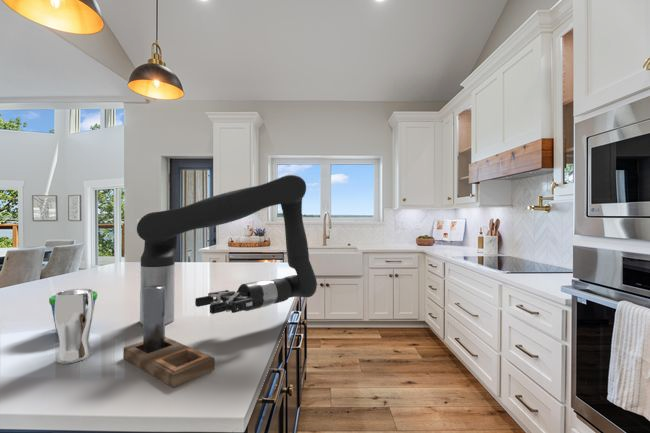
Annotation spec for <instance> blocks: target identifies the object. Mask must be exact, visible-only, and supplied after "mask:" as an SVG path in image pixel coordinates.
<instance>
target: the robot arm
mask: <svg viewBox="0 0 650 433" xmlns="http://www.w3.org/2000/svg"><path fill="white" fill-rule="evenodd" d="M306 192H307V184H306V182H305V180H304V179H303V178H302V177H301V176H299V175H297V174H292V173H291V174H287V175H286V174H285V175H284V176H281V177H279V178H275V179H273V180H271V181H269V182H266V183H263V184H259V185H255V186H251V187H250V186H249V187H245V188H240V189H235V190H231V191H226V192H224V193H219V194H217V195H214V196H211V197H207V198H204V199H201V200H198V201H196V202H194V203H193V202H192V203H191V204H188V205H186V206H181V207H177V208H173V209H167V210H162V211H153V212H149V213H146V214H145V215H143V216H142V217H141V218H140V219H139V221H138V223H137V225H136V233H137V235H138V237H139V238H141V239H142V240H143V241H144V245H143V246H144V248H143V252H142V255H141V257H140V287H139V288H140V290H139V292H140V293H139V323H140V325H141V326H143V315H144V288H145V287H148V286H154V285H163V286H165V325H167V324H170V323H172V322H174V320H175V277H176V275H175V268H176V267H175V262H176V261H175V259H176V255H177V247H178V246H177V245H178V244H177V243H178V235H180V234H181V235H182V234H184V233H187V232H189V231H190V232H191V231H192V230H198V229H206V228H210V227H211V228H212V227H216V226H220V225H221V226H222V225H225V224H229V223H231V222H235V221H238V220H241V219H244V218H247V217H248V216H249V217H250V215H253V214H255V213H258V212H259V211H262V210H264V209H266V208H270V207H272V206H277V205H280V207H281V211H282V214H283V215H282V216H283V221H284V222H283V223H284V233H285V247H286V248H285V250H286V256H287V257H286V258H287V264H288V266H289V267H290V268H291V269H294V270H295V273H296V274H294V275H288V276H285V277H281V278H275V279H270V280H259V281H253V282H247V283H242V284H240V286H239V287H238V289H237V290H236V291H235V290H228V289H225V290H220V291H215V292H208V293H207V295H206V296H201V297H196V298H195V299H194V300H195V302H194V303H195V304H194V305H195V307H197V308H198V307H203V306H209V313H210V314H211V315H214V314H218V313H223V312H225V313H226V312H227V313H228V312H231V314H232V313H233V314H234V313H235V314H236V313H239V312H242V311H245V312H250V311H253V310H258V309H261V308H266V307H268V306H272V305H274V304H278V303H282V302H286V301H287V300H289V299H290V298H294V297H296V298H310V297H313V296H314V295H315V293H316V292H317V288H318V282H317V277H316V274H315V272H314V268H313V266H312V264H311V262H310V253H309V244H308V239H307V235H306V230H305V226H304V221H303V212H302V211H303V198H305V195H306Z"/></svg>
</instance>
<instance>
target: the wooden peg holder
mask: <svg viewBox="0 0 650 433" xmlns="http://www.w3.org/2000/svg"><path fill="white" fill-rule="evenodd" d="M122 351H123V355H122V356H123V359H124V360H125V361H128V362H129V363H131V364H132V365H134V366H136V367H137V368H140V369H141V370H142V371H144V372H146V373H148V374H149V375H151V376H153V377H155V378H156V379H158V380H160V381H161V382H162V383H164V384H167V385H168V386H170V387H171V388H176V387H179V386H182V385H184V384H186V383H188V382H190V381H193V380H194V379H197V378H199V377H201V376H204V375H206V374H208V373H211V372H212V371H214V370H216V369H215V368H216V366H215V362H216V361H215V359H216V358H215V357H213V356H211V355H209V354H206V353H205V352H202V351H199V350H197V349H195V348H193V347H190V346H188V345H186V344H183V343H181V342H179V341H177V340H174V339H171V338H170V337H167V336H165V348H163V349H160V350H157V351H154V352H151V353H148V354H147V353H145V352H143V341H140V342H136V343H133V344H130V345H127V346H123V350H122ZM210 371H211V372H210Z"/></svg>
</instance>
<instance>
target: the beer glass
mask: <svg viewBox="0 0 650 433" xmlns="http://www.w3.org/2000/svg"><path fill="white" fill-rule="evenodd" d="M92 291H93V289H92V288H76V289H75V288H73V289H67V290H61V291H58V292H57V293H56V294H55V295H56V301H55V322H54V325H55V324H56V328H55V330H56V329H57V332H56V333H57V337H58V343H59V344H58V345H59V346H58V348H59V349H58V353H57V358H56V362H57V363H58V364H61V365H62V364H63V365H67V364H69V363H70V364H74V363H79V362H81V360H82V361H84V360H86V359H88V358H90V357H91V353H92V352H91V351H92V350H91V347H90V342H89V340H90V333H91V328H92V324H93V323H92V322H93V319H94V318H93V316H94V312H93V294H92ZM78 361H79V362H78Z"/></svg>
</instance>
